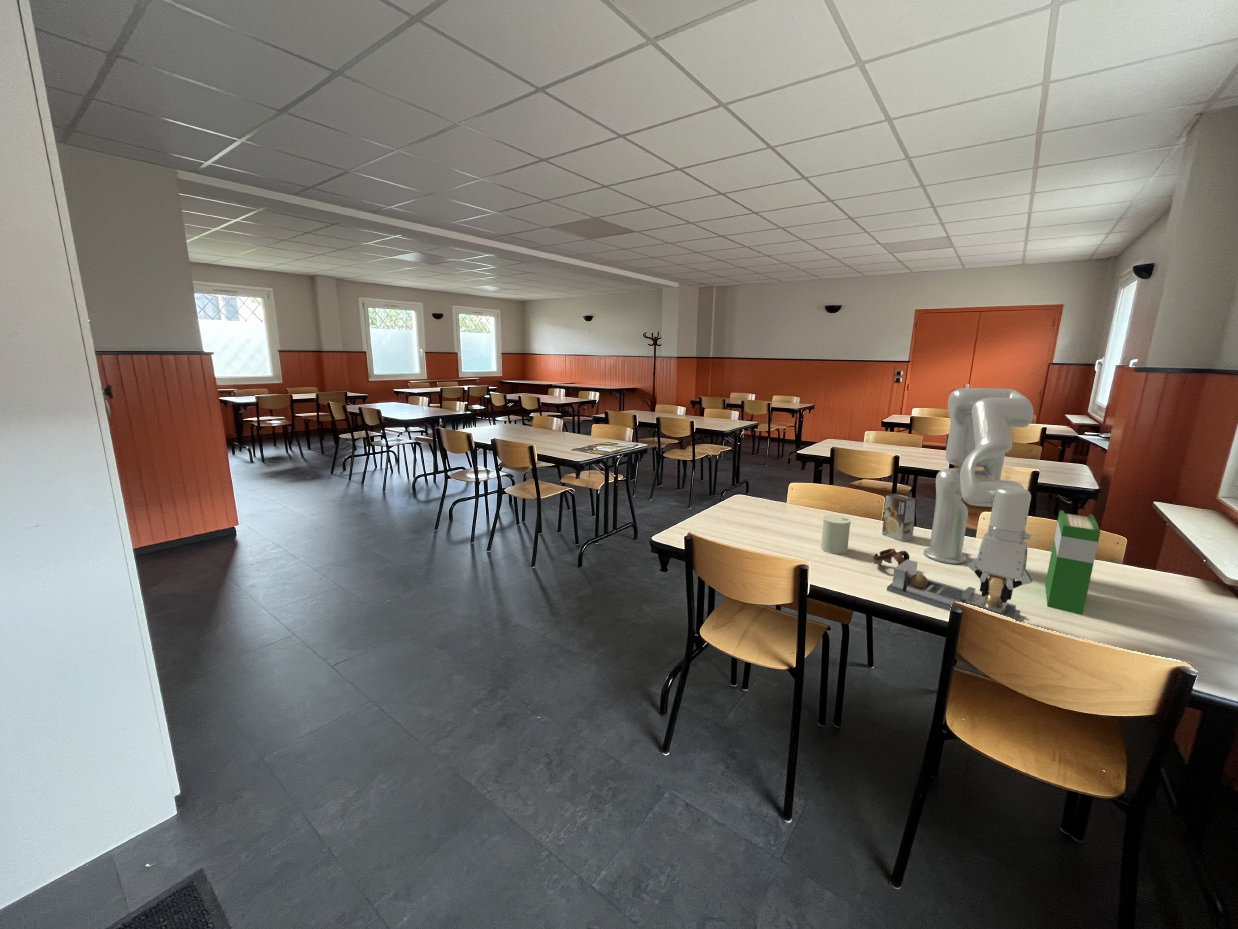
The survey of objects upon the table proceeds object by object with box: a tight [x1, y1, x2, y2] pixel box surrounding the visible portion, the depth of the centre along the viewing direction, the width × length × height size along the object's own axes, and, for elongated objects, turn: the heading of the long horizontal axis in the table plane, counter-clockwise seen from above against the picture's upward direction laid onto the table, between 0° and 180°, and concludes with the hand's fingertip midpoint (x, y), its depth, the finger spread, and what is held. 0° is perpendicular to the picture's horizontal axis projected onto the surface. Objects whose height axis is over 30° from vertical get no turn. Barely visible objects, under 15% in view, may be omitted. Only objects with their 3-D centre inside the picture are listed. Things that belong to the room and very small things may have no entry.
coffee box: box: [881, 493, 918, 542], centre depth 195 cm, size 9×6×16 cm
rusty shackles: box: [872, 548, 910, 566], centre depth 167 cm, size 12×9×8 cm
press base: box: [886, 559, 1021, 621], centre depth 144 cm, size 12×30×7 cm, turn 41°
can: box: [820, 514, 852, 555], centre depth 183 cm, size 9×9×12 cm
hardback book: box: [1044, 509, 1102, 615], centre depth 145 cm, size 18×7×24 cm, turn 142°
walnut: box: [911, 573, 928, 589], centre depth 150 cm, size 4×4×4 cm
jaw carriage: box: [961, 573, 1009, 615], centre depth 138 cm, size 7×9×10 cm
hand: (994, 597), depth 137 cm, fingers closed on jaw carriage, 4 cm apart
